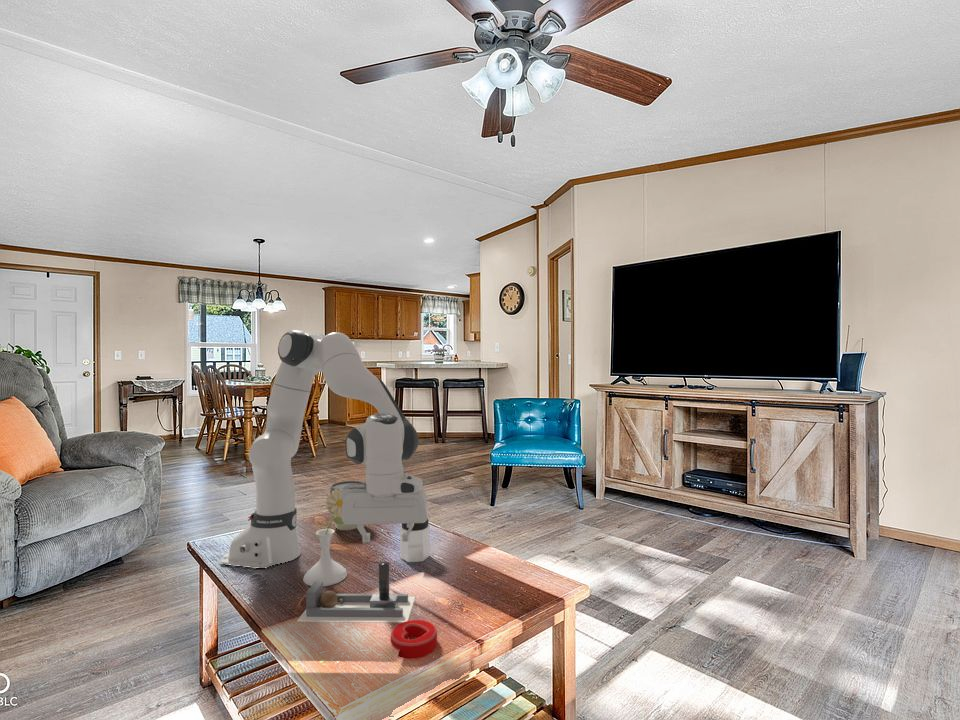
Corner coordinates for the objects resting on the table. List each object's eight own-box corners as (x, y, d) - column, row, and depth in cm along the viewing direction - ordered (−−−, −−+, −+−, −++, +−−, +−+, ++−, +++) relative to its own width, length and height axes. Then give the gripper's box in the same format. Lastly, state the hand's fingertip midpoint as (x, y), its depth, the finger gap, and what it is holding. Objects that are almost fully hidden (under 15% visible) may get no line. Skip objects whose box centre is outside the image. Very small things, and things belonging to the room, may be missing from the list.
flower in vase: (306, 596, 125) (305, 498, 125) (300, 578, 135) (299, 488, 135) (357, 585, 131) (357, 491, 131) (348, 569, 141) (347, 482, 141)
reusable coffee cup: (323, 531, 173) (323, 488, 173) (339, 519, 185) (339, 480, 185) (357, 532, 171) (357, 490, 171) (371, 521, 183) (370, 481, 183)
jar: (434, 558, 148) (434, 518, 148) (411, 565, 143) (411, 524, 143) (418, 549, 155) (418, 511, 155) (396, 556, 150) (396, 517, 150)
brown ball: (317, 612, 114) (317, 595, 114) (323, 603, 118) (323, 587, 118) (334, 612, 113) (334, 595, 113) (339, 604, 117) (339, 587, 117)
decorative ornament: (443, 651, 101) (443, 636, 101) (399, 665, 96) (398, 649, 96) (427, 629, 109) (427, 615, 109) (385, 640, 105) (385, 625, 105)
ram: (369, 611, 114) (369, 566, 114) (373, 604, 117) (372, 560, 117) (395, 611, 113) (395, 566, 113) (398, 604, 117) (397, 560, 117)
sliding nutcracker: (296, 628, 110) (296, 599, 110) (315, 601, 122) (315, 575, 122) (407, 628, 109) (407, 599, 109) (415, 602, 121) (415, 576, 121)
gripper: (337, 487, 112) (338, 547, 112) (425, 485, 112) (426, 545, 112) (345, 480, 119) (346, 537, 119) (428, 478, 119) (430, 535, 119)
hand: (386, 541), depth 115 cm, fingers open, 8 cm apart
